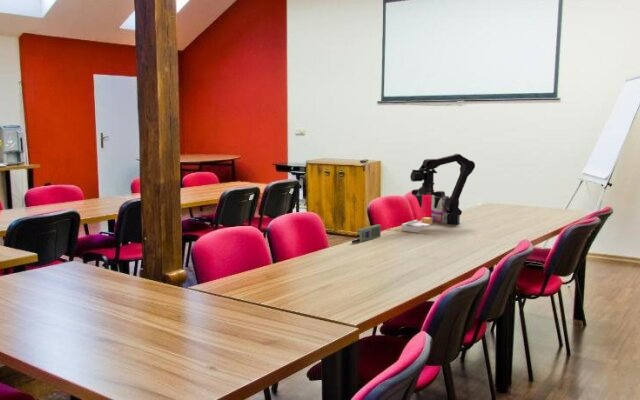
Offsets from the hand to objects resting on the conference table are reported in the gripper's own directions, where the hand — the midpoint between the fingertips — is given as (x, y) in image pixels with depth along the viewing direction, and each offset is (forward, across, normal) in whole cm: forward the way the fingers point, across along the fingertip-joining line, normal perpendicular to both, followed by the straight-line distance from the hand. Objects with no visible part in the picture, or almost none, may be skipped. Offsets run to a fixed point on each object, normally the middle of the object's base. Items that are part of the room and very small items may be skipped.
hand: (427, 207), depth 343 cm
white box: (+10, 0, -14) cm, 17 cm away
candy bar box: (+11, 0, +17) cm, 20 cm away
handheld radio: (+11, -7, -57) cm, 58 cm away
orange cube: (+10, 0, 0) cm, 10 cm away
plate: (+10, 0, 0) cm, 11 cm away
